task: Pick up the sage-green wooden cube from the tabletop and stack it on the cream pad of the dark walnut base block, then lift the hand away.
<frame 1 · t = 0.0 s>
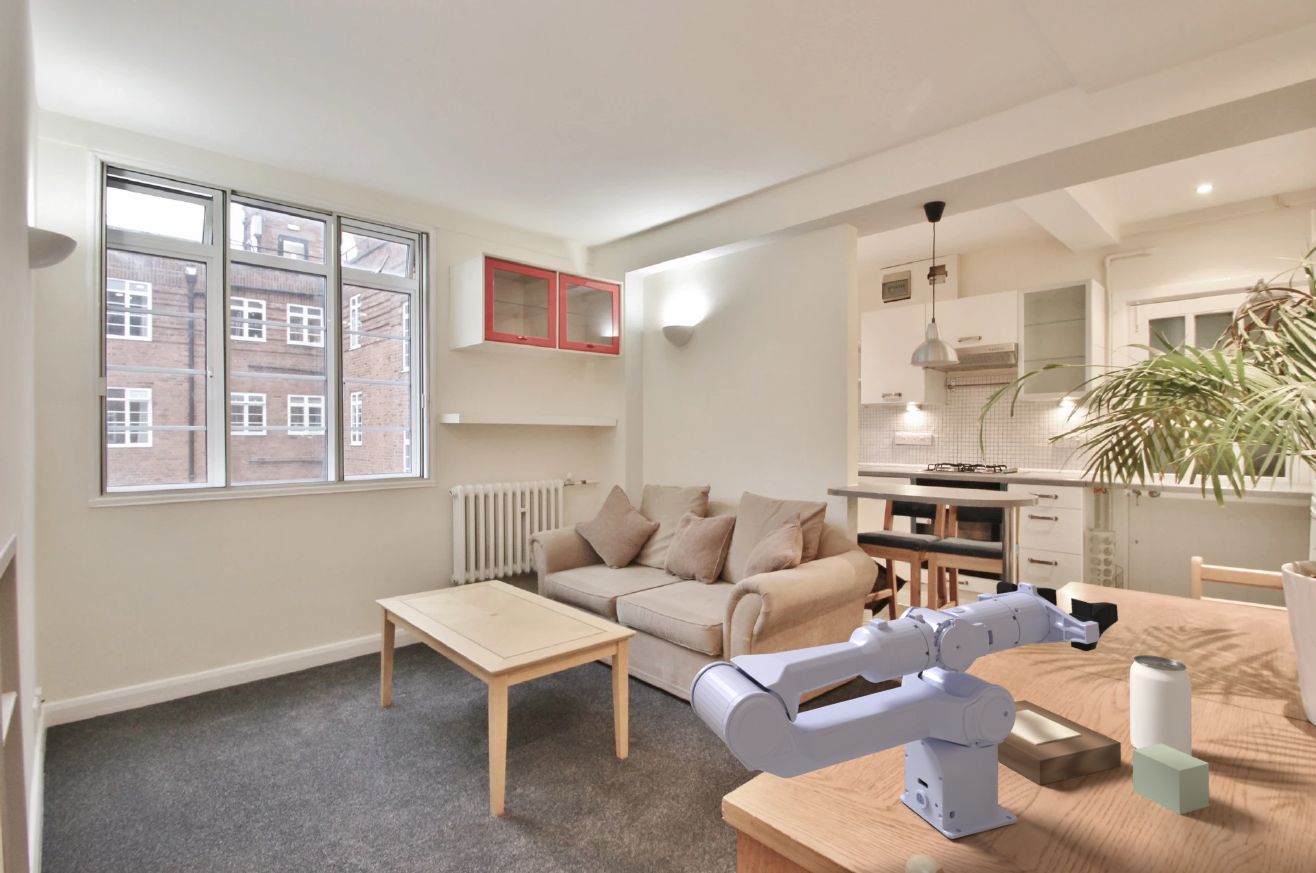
hand: (1082, 604, 77), 22 cm above the table, tool horizontal, fingers open, 7 cm apart
can: (1160, 752, 84), on the table
cube: (1170, 799, 73), on the table
base: (1031, 749, 85), on the table
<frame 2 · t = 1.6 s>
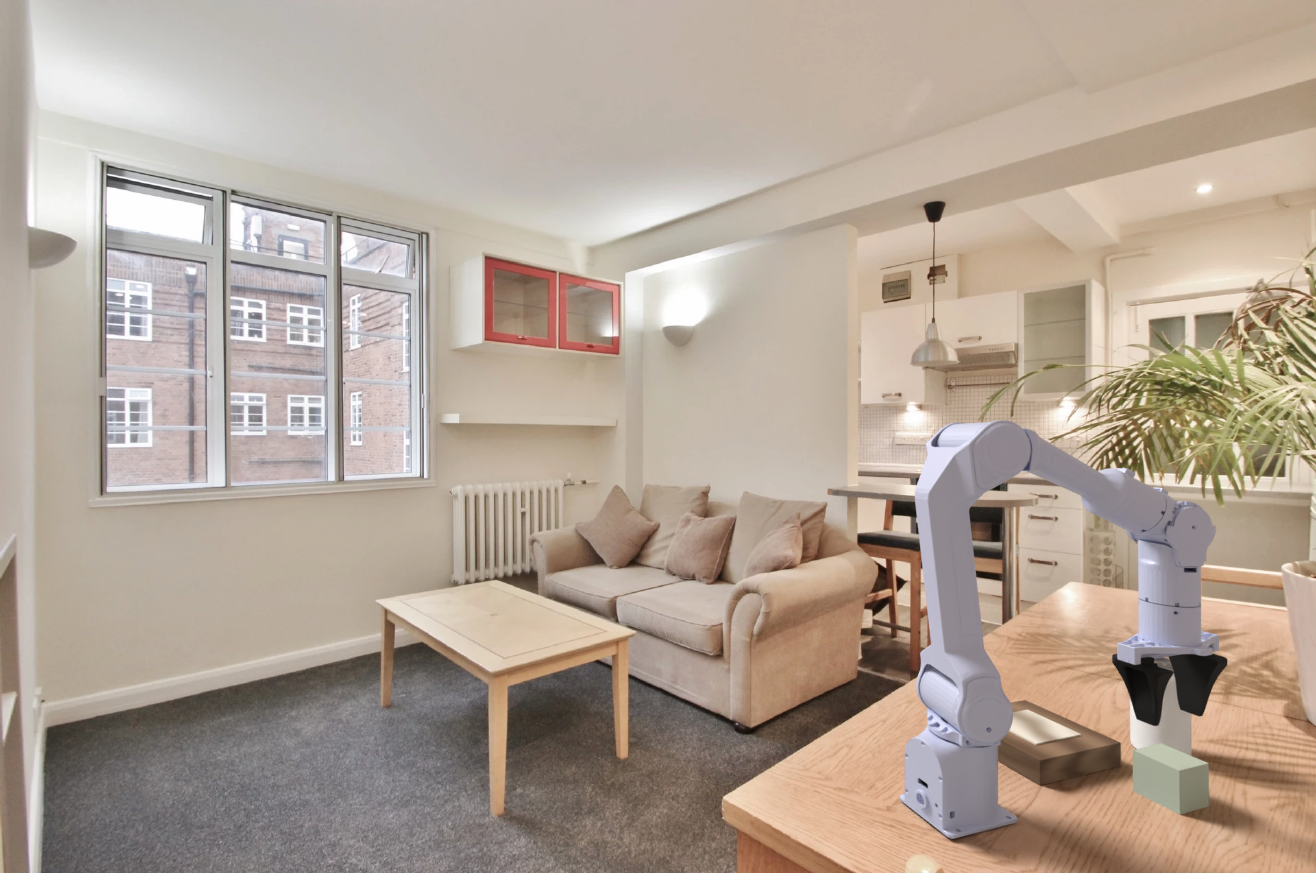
hand: (1169, 717, 73), 9 cm above the table, tool pointing down, fingers open, 7 cm apart
nothing on the table moved.
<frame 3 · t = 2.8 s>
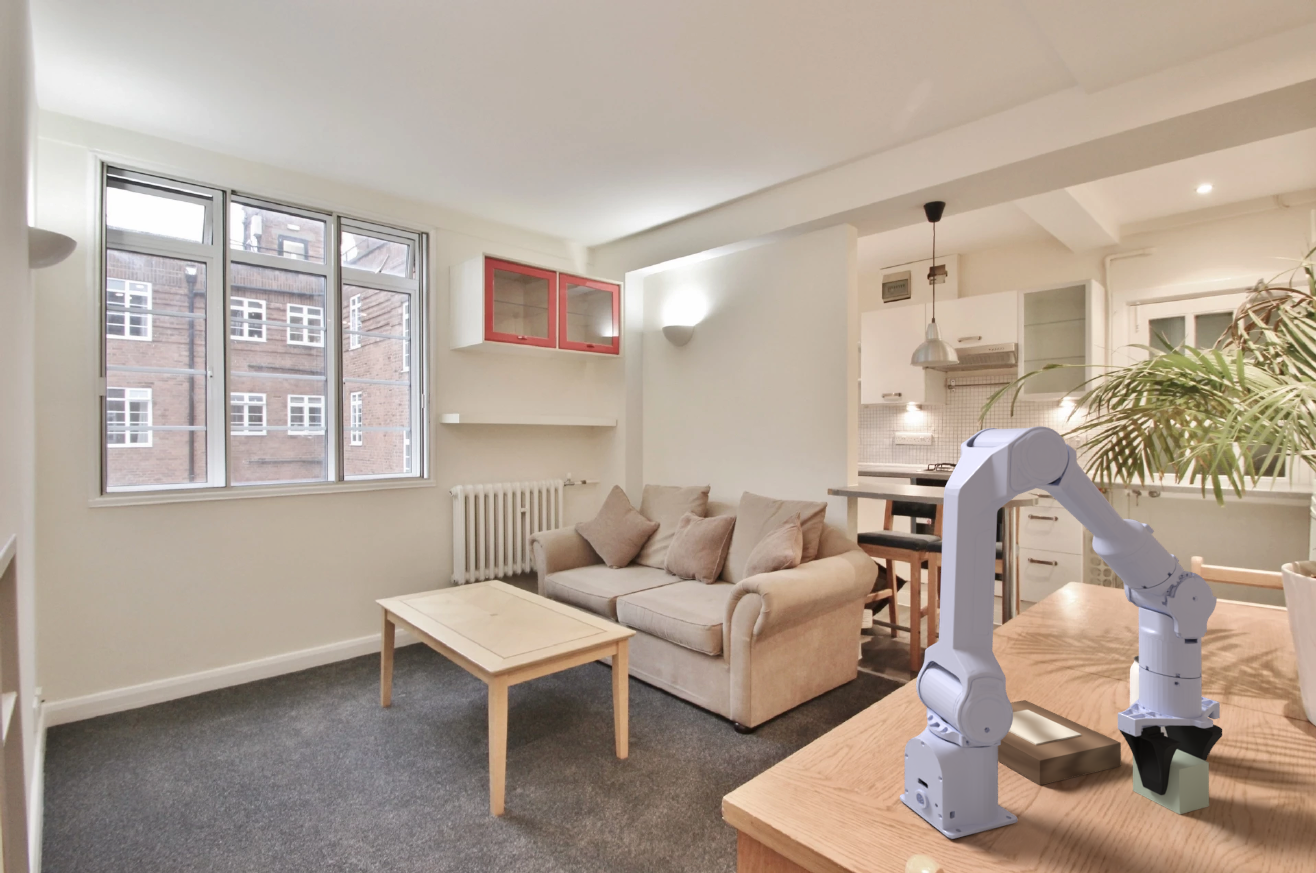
hand: (1170, 786, 73), 1 cm above the table, tool pointing down, fingers closed on cube, 5 cm apart
cube: (1170, 798, 73), on the table, touching gripper
everything else where it was.
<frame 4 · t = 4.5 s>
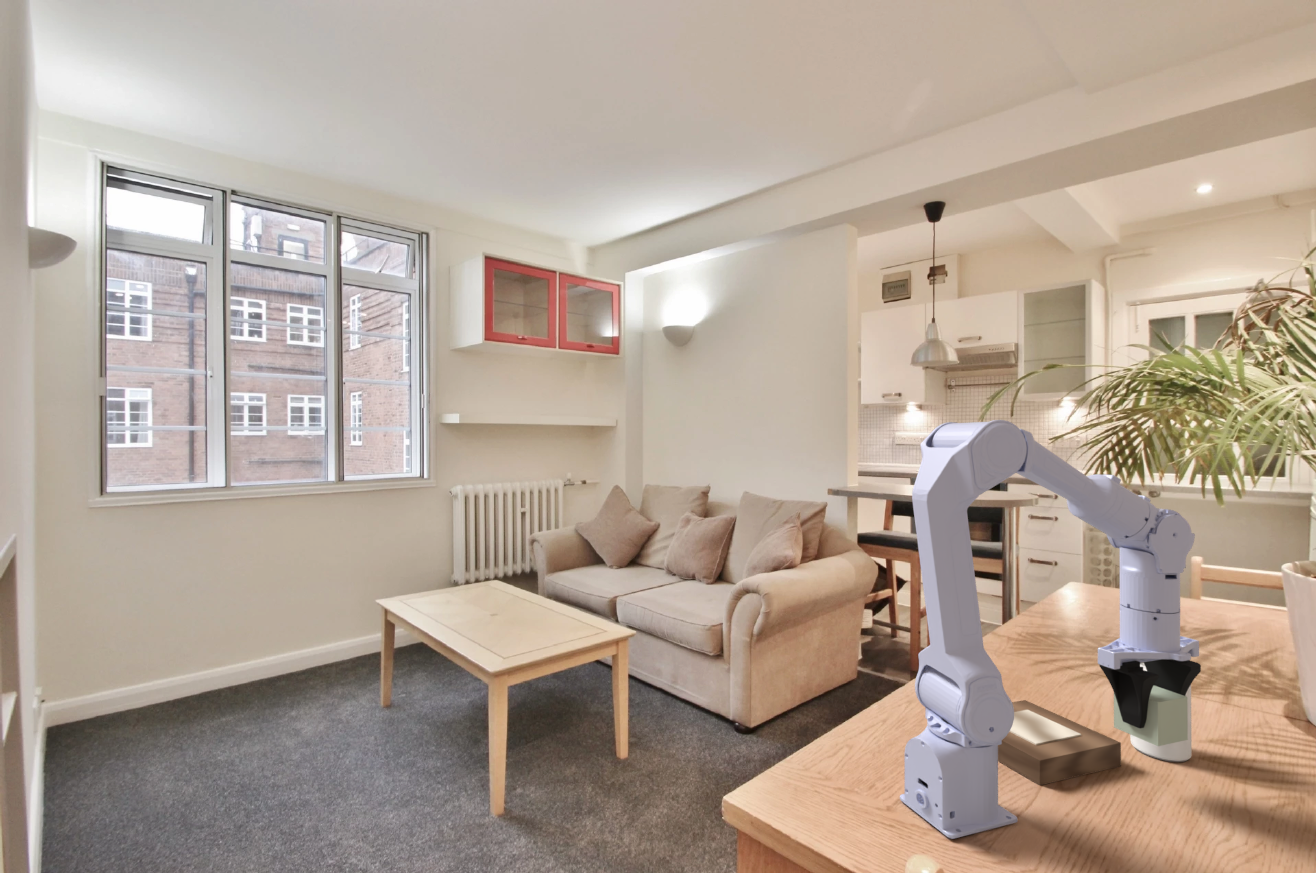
hand: (1149, 721, 75), 8 cm above the table, tool pointing down, fingers closed on cube, 5 cm apart
cube: (1149, 733, 75), point 7 cm above the table, touching gripper
everything else where it was.
when the fingers open (6 cm above the table, at t = 6.2 s): cube drops 1 cm, resting on base.
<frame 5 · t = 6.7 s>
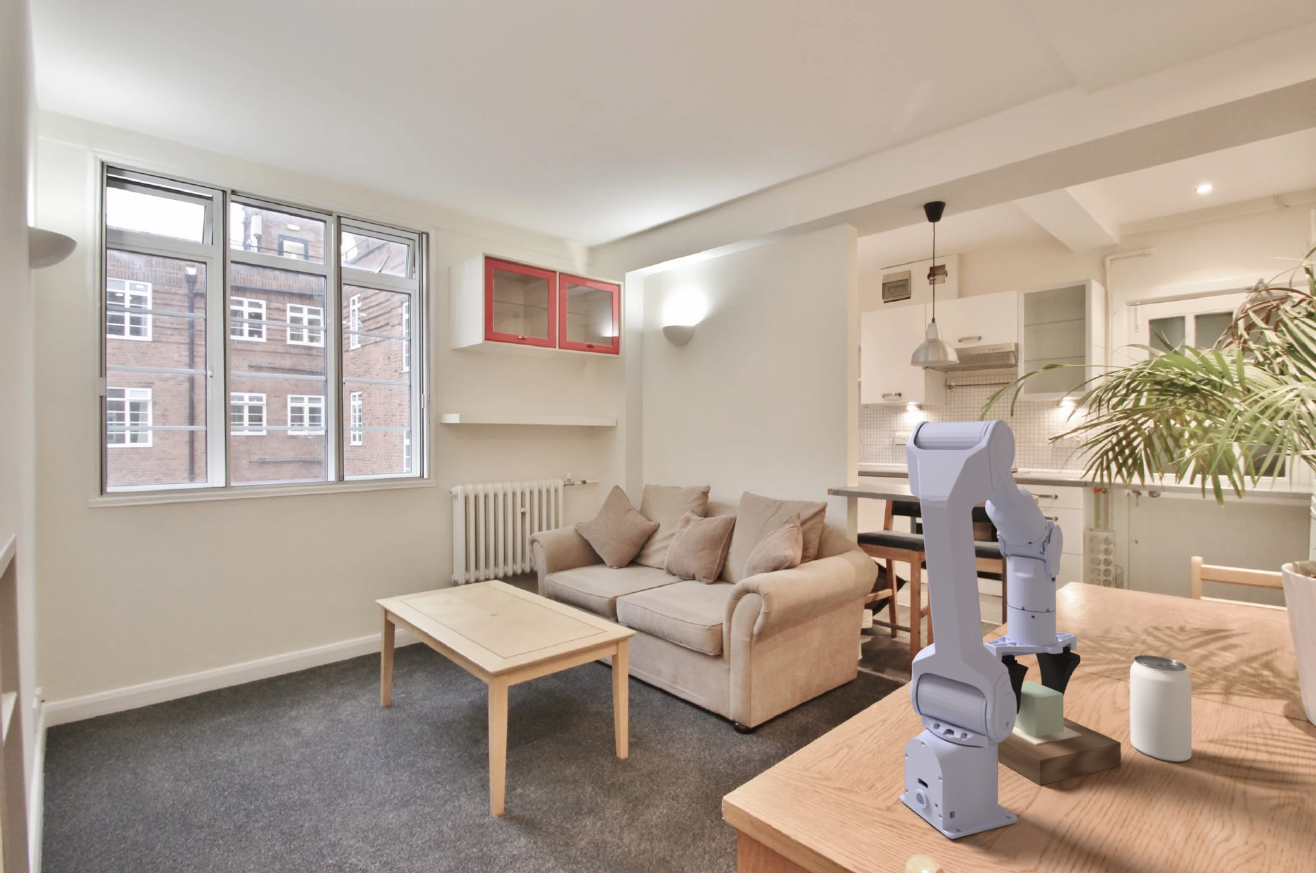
hand: (1031, 707, 85), 6 cm above the table, tool pointing down, fingers open, 7 cm apart
cube: (1032, 726, 85), point 3 cm above the table, touching base
everything else where it was.
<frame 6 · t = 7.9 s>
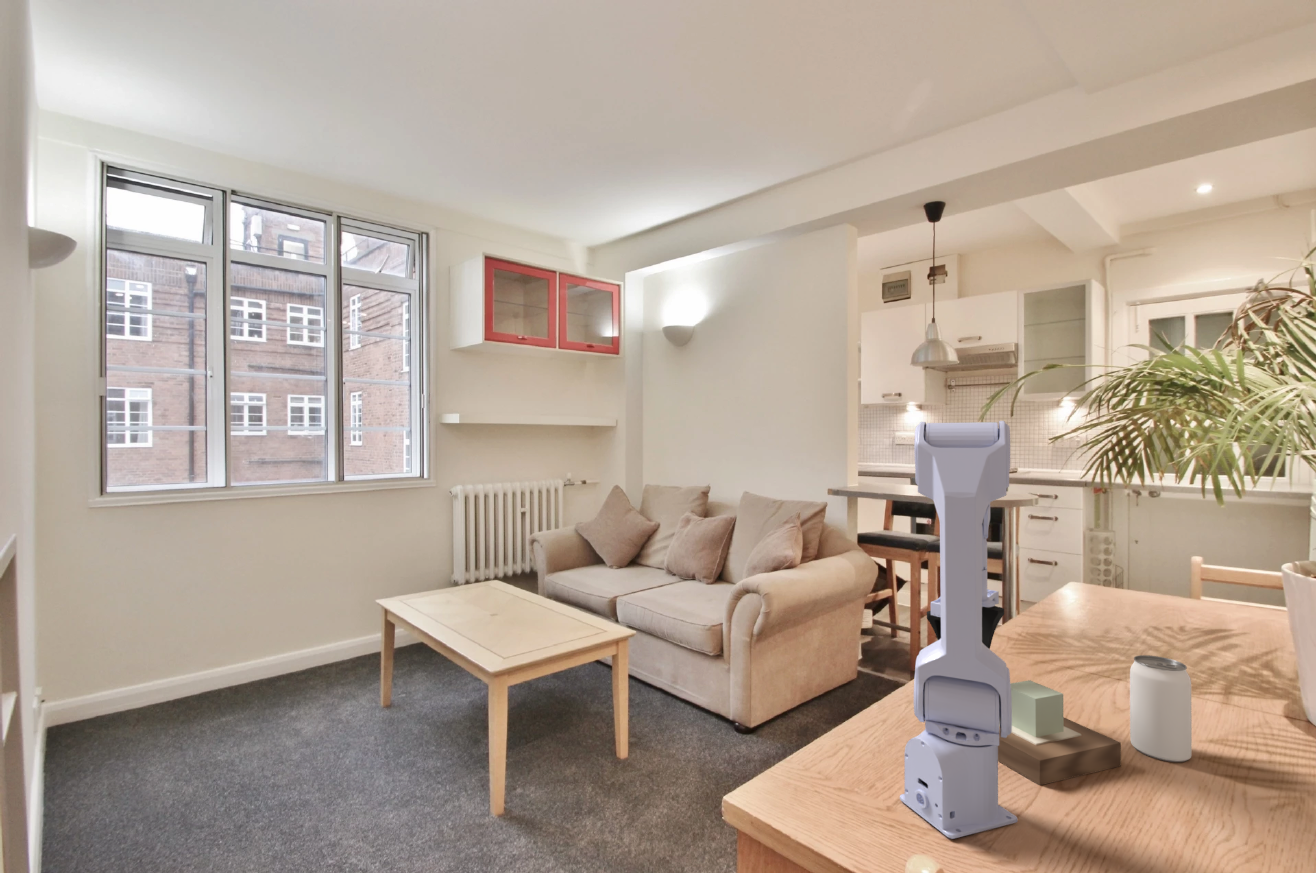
hand: (965, 658, 93), 9 cm above the table, tool pointing down, fingers open, 7 cm apart
nothing on the table moved.
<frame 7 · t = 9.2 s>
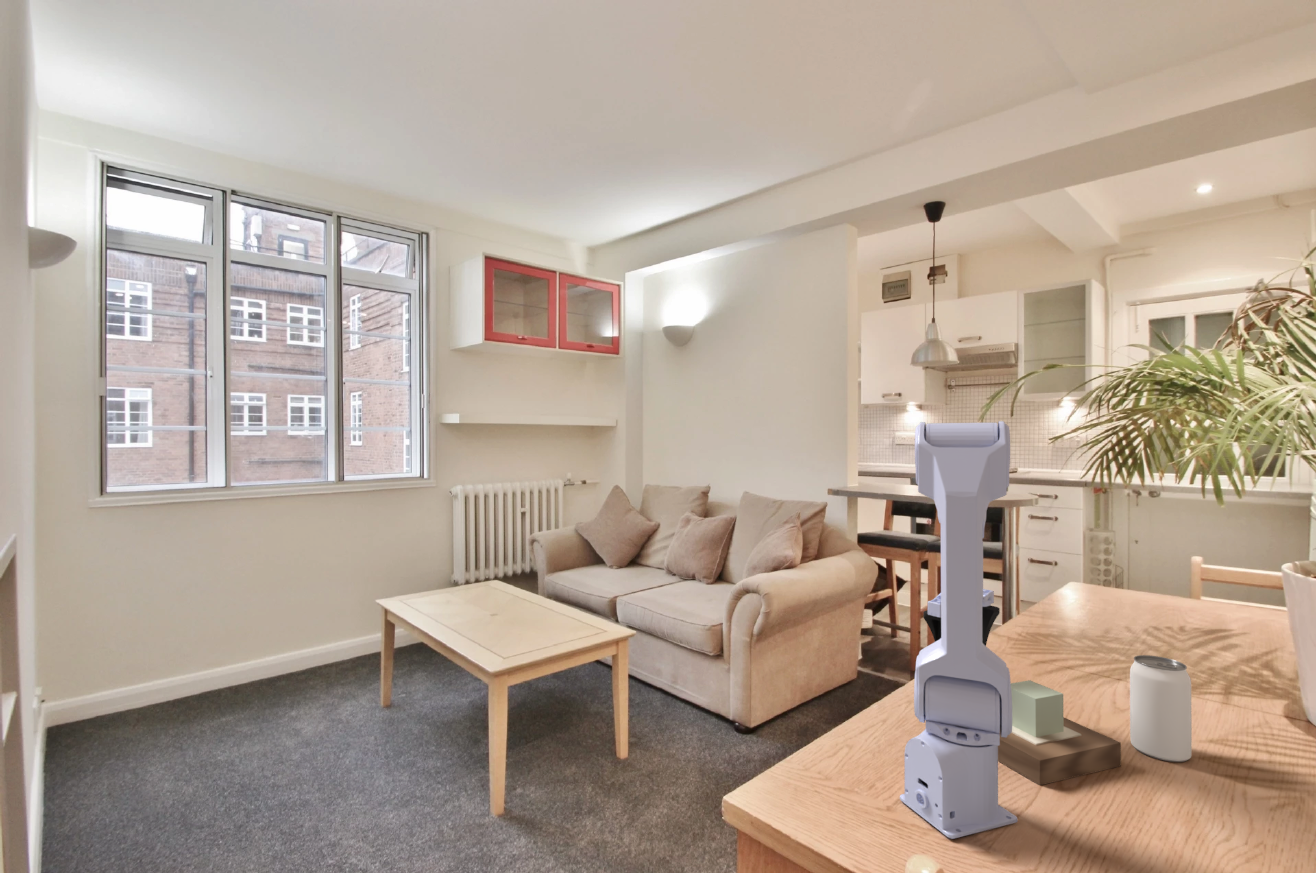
hand: (962, 657, 94), 9 cm above the table, tool pointing down, fingers open, 7 cm apart
nothing on the table moved.
at the end: cube inside the target area on the base (0.2 cm from its centre), point 3.2 cm above the base's base; cube tilted 0°; the gripper is holding nothing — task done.
